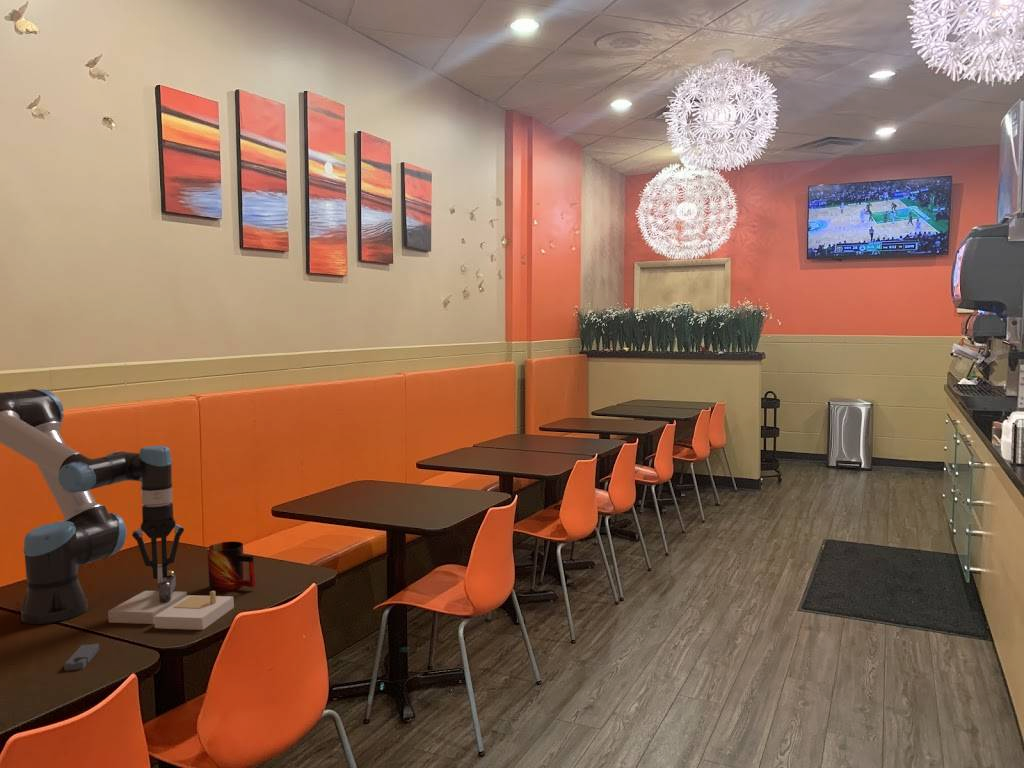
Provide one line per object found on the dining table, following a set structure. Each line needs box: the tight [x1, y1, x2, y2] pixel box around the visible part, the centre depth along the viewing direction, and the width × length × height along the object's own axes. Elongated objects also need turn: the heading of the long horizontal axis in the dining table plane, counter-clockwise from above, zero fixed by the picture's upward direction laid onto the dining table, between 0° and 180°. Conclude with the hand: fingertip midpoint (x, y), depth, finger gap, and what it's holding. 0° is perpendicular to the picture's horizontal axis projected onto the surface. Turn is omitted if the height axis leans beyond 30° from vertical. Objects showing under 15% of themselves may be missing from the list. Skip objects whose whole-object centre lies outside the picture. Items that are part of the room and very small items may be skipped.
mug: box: [206, 541, 256, 594], centre depth 218 cm, size 10×14×12 cm
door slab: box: [153, 591, 235, 631], centre depth 195 cm, size 13×15×6 cm
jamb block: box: [107, 590, 188, 625], centre depth 200 cm, size 12×15×3 cm
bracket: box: [63, 643, 100, 672], centre depth 171 cm, size 4×10×2 cm, turn 11°
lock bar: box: [157, 570, 177, 602], centre depth 204 cm, size 13×3×5 cm, turn 17°
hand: (160, 589), depth 204 cm, fingers closed
